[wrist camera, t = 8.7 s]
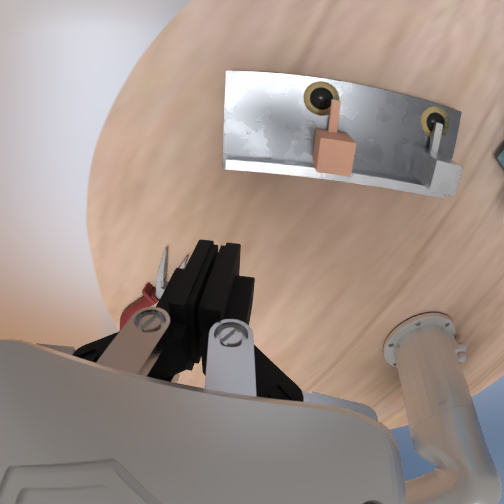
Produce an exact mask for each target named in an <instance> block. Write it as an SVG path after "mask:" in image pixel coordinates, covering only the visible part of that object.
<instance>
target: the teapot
mask: <svg viewBox="0 0 504 504" xmlns="http://www.w3.org/2000/svg"><path fill="white" fill-rule="evenodd" d="M497 159H498V161H499V162H500V164H501V165H502V167H503V168H504V149H503V151H502V152H501V153H500V155H499V156H498V157H497Z"/></svg>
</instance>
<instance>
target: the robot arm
mask: <svg viewBox="0 0 504 504" xmlns="http://www.w3.org/2000/svg"><path fill="white" fill-rule="evenodd" d="M240 249H241V245H240V244H235V243H226V246H221V247H220V250H219V253H218V245H214V242H213V241H209V240H199V241H198V243H197V245H196V247H195V249H194V251H193V253H192V255H191V257H190V259H189V261H188V263H187V265H186V267H185V269H182V268H176V270H175V271H174V273H173V275H172V277H171V279H170V281H169V283H168V284H167V286H166V288H165V290H164V292H163V294H162V296H161V298H160V300H159V302H158V304H157V306H156V307H146V308H142V309H140V310H138V311H136V312H135V313H134V314H133V315H132V316H131V318H130V319H129V320H128V322H127V323H126V324H125V325H124V327H123V328H122V329H121V331H119V332H117V333H114V334H112V335H109V336H107V337H104V338H102V339H99V340H97V341H94V342H92V343H89V344H86V345H84V346H82V347H80V348H78V349H77V350H75V348H74V347H68V346H57V345H47V344H37V343H36V344H35V343H31V342H27V341H22V340H15V339H0V504H498V502H499V500H500V497H501V492H502V487H501V481H500V477H499V474H498V471H497V469H496V466H495V464H494V461H493V459H492V457H491V454H490V452H489V449H488V446H487V444H486V441H485V438H484V435H483V432H482V429H481V426H480V423H479V420H478V416H477V413H476V410H475V407H474V404H473V400H472V397H471V394H470V391H469V388H468V386H467V383H466V380H465V377H464V374H463V371H462V369H461V366H460V363H463V362H465V361H466V359H467V354H466V352H463V351H467V349H468V344H467V343H460V344H457V343H456V341H455V334H456V329H455V326H454V324H453V322H452V320H451V319H450V318H449V317H448V316H446V315H444V314H441V313H425V314H421V315H418V316H415V317H413V318H410V319H408V320H407V321H405V322H403V323H402V324H400V325H399V326H398V327H396V328H395V329H394V330H393V331H392V332H391V333H390V335H389V336H388V337H387V339H386V341H385V343H384V346H383V353H384V358H385V360H386V362H387V363H388V364H389V365H391V366H393V367H396V368H397V370H398V375H399V379H400V383H401V388H402V393H403V397H404V402H405V407H406V412H407V417H408V423H409V428H410V434H411V440H412V444H413V447H414V449H415V451H416V452H417V453H418V454H419V455H420V456H421V457H422V458H424V459H426V460H428V461H429V462H432V463H433V464H435V465H436V469H435V470H434V471H432V472H430V473H427V474H425V475H424V476H421V477H418V478H415V479H412V480H409V481H406V482H405V478H404V471H403V466H402V460H401V456H400V452H399V449H398V445H397V443H396V440H395V438H394V436H393V434H392V433H391V432H390V430H389V429H388V428H387V427H386V426H384V425H383V424H382V423H380V422H378V420H377V415H376V413H375V411H374V410H373V409H372V408H370V407H369V406H367V405H364V404H361V403H356V402H352V401H348V400H343V399H339V398H335V397H331V396H327V395H323V394H320V393H316V392H312V394H309V393H305V392H302V391H301V389H300V388H299V387H298V386H297V385H296V384H295V383H294V382H293V381H292V380H291V379H290V378H289V377H288V376H287V375H285V374H284V373H283V372H282V371H281V370H280V369H279V368H278V367H277V366H276V365H275V364H274V363H273V362H272V361H271V360H270V359H268V358H267V357H266V356H265V355H264V354H263V353H262V352H261V351H260V350H259V349H258V348H257V347H256V346H255V345H254V340H253V332H252V329H251V328H250V327H249V321H250V315H251V309H252V302H253V293H254V282H255V278H253V277H245V276H239V268H240ZM458 351H459V352H458ZM201 356H202V368H203V373H204V374H205V376H206V379H205V389H204V388H198V387H193V386H188V385H183V384H178V383H177V381H178V379H179V373H180V372H182V371H184V370H192V369H193V366H194V363H199V361H200V358H201Z"/></svg>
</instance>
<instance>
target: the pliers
mask: <svg viewBox="0 0 504 504" xmlns="http://www.w3.org/2000/svg"><path fill="white" fill-rule="evenodd" d="M187 258H188V255H187V257H186V258H185V260H184V261H183V263H182V264H181V266H180V267H179V268H182V269H184V267H185V264H186V261H187ZM166 275H167V247H166V249H165V251H164V254H163V257H162V260H161V263H160V266H159V269H158V273H157V279H156V288H154V287H153V286H152V285H151V284H150V283H148V284H146V286H145V287H144V289H143V291H142V293H143V295H144V296H143V297H142V298H140V299H139V300H137V301H136V302H134V303H133V304H131V305H130V306H128V307H127V308H126V309H125V310H124V312H123V313H122V315H121V318H120V331H121V329H122V328H123V327H124V325H125V324H126V323H127V322H128V320H129V319H130V318H131V316H132V315H133V314H134V313H135V312H136V311H138V310H140V309H142V308H146V307H150V306H152V305H154V304H156V303H157V302H158V301H159V300H160V298H161V296H162V294H163V292H164V290H165V288H166V286H167V284H168V283H167V282H166V281H164V279H165V277H166Z"/></svg>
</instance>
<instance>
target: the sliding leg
mask: <svg viewBox="0 0 504 504" xmlns="http://www.w3.org/2000/svg"><path fill="white" fill-rule="evenodd" d="M340 105H341V101H340V100H333V99H331V107H330V116H329V124H328V130H322V129H316V133H315V141H314V150H313V158H312V159H313V162H314V166H315V169H316V172H319V173H327V174H334V175H342V176H349V177H351V172H352V166H353V161H354V154H355V148H356V142H355V141H354V140H353V139H352V138H351V137H350V136H349V135H348V134H347V133H343V132H337V129H338V121H339V113H340Z"/></svg>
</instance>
